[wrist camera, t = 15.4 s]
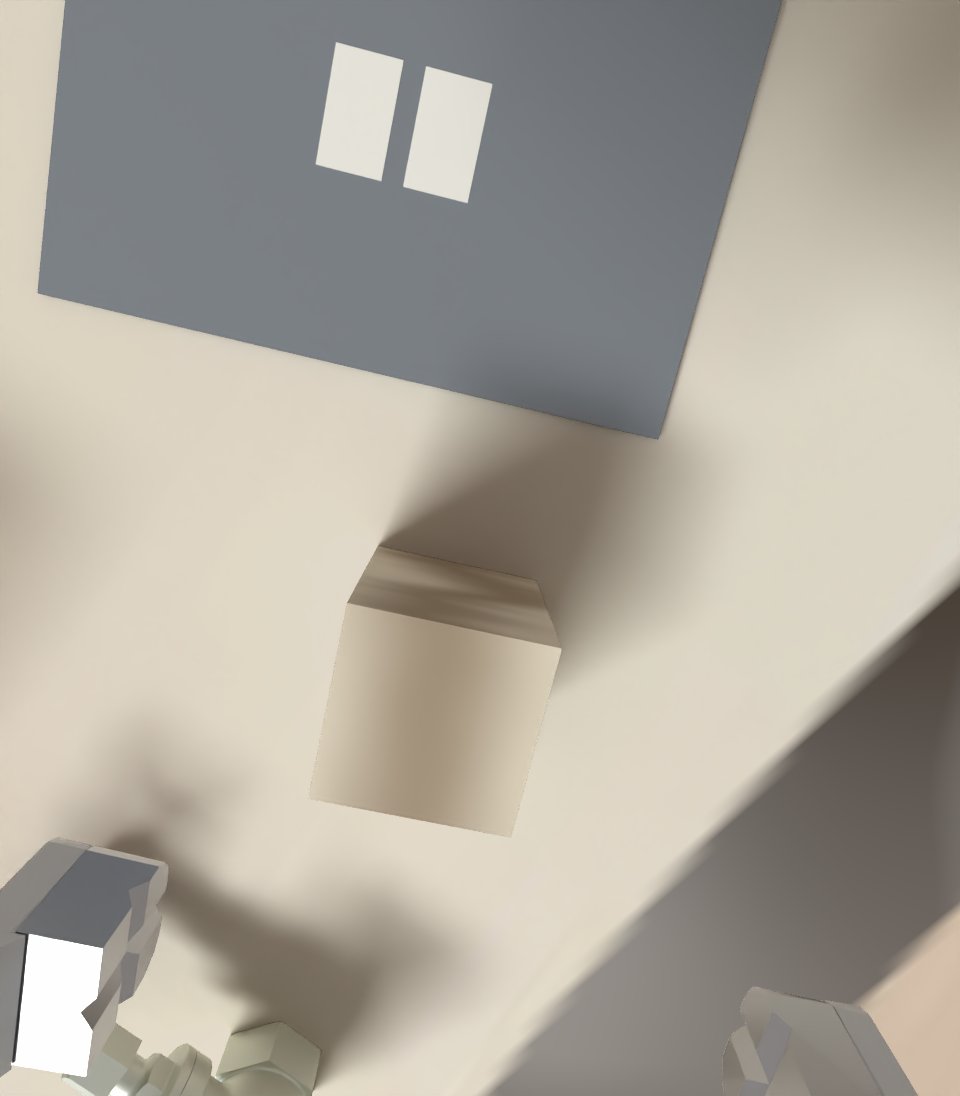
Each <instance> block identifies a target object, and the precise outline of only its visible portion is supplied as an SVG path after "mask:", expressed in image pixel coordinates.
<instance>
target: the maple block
mask: <svg viewBox="0 0 960 1096" xmlns="http://www.w3.org/2000/svg"><path fill="white" fill-rule="evenodd" d="M561 651H562V647H561V644H560V642H559V639H558V636H557V634H556V631H555V629H554V626H553V623H552V621H551V618H550V615H549V613H548V610H547V607H546V605H545V602H544V599H543V597H542V594H541V591H540V589H539V586H538V583H537V581H536V580H532V579H527V578H523V577H518V576H514V575H509V574H504V573H500V572H495V571H491V570H486V569H482V568H477V567H472V566H468V565H463V564H459V563H454V562H450V561H445V560H440V559H436V558H431V557H427V556H422V555H418V554H413V553H408V552H404V551H399V550H395V549H390V548H386V547H381V546H378V547H377V549H376V550H375V552H374V554H373V556H372V558H371V560H370V562H369V563H368V565H367V567H366V569H365V571H364V573H363V574H362V576H361V578H360V580H359V582H358V584H357V586H356V587H355V589H354V591H353V593H352V595H351V597H350V598H349V600H348V602H347V606H346V611H345V616H344V621H343V626H342V631H341V636H340V641H339V646H338V651H337V656H336V661H335V666H334V671H333V676H332V681H331V686H330V691H329V696H328V701H327V706H326V711H325V716H324V721H323V726H322V731H321V736H320V741H319V746H318V751H317V756H316V761H315V766H314V771H313V776H312V781H311V786H310V792H309V797H308V799H312V800H318V801H323V802H328V803H333V804H338V805H344V806H349V807H354V808H359V809H364V810H370V811H375V812H380V813H385V814H390V815H396V816H401V817H406V818H411V819H416V820H422V821H427V822H432V823H437V824H442V825H448V826H453V827H458V828H463V829H468V830H474V831H479V832H484V833H489V834H495V835H500V836H505V837H510V838H511V836H512V832H513V829H514V825H515V821H516V818H517V814H518V810H519V807H520V803H521V799H522V795H523V792H524V788H525V784H526V781H527V777H528V773H529V769H530V766H531V762H532V758H533V755H534V751H535V747H536V743H537V740H538V736H539V732H540V729H541V725H542V721H543V718H544V714H545V710H546V706H547V703H548V699H549V695H550V692H551V688H552V684H553V680H554V677H555V673H556V669H557V666H558V662H559V658H560V654H561Z"/></svg>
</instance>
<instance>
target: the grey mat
mask: <svg viewBox="0 0 960 1096" xmlns="http://www.w3.org/2000/svg"><path fill="white" fill-rule="evenodd" d="M781 1H782V0H65V9H64V19H63V30H62V40H61V51H60V61H59V72H58V82H57V93H56V103H55V114H54V125H53V135H52V146H51V156H50V167H49V177H48V188H47V198H46V209H45V219H44V230H43V241H42V251H41V262H40V272H39V283H38V293H39V294H43V295H47V296H51V297H56V298H60V299H64V300H68V301H72V302H77V303H81V304H85V305H89V306H94V307H98V308H102V309H106V310H111V311H115V312H119V313H123V314H128V315H132V316H136V317H140V318H145V319H149V320H153V321H157V322H162V323H166V324H170V325H174V326H178V327H183V328H187V329H191V330H195V331H200V332H204V333H208V334H212V335H217V336H221V337H225V338H229V339H234V340H238V341H242V342H246V343H251V344H255V345H259V346H263V347H268V348H272V349H276V350H280V351H284V352H289V353H293V354H297V355H301V356H306V357H310V358H314V359H318V360H323V361H327V362H331V363H335V364H340V365H344V366H348V367H352V368H357V369H361V370H365V371H369V372H373V373H378V374H382V375H386V376H390V377H395V378H399V379H403V380H407V381H412V382H416V383H420V384H424V385H429V386H433V387H437V388H441V389H446V390H450V391H454V392H458V393H463V394H467V395H471V396H475V397H479V398H484V399H488V400H492V401H496V402H501V403H505V404H509V405H513V406H518V407H522V408H526V409H530V410H535V411H539V412H543V413H547V414H552V415H556V416H560V417H564V418H569V419H573V420H577V421H581V422H585V423H590V424H594V425H598V426H602V427H607V428H611V429H615V430H619V431H624V432H628V433H632V434H636V435H641V436H645V437H649V438H653V439H659V435H660V431H661V428H662V424H663V421H664V417H665V414H666V410H667V407H668V403H669V399H670V396H671V392H672V389H673V385H674V382H675V378H676V375H677V371H678V367H679V364H680V360H681V357H682V353H683V350H684V346H685V343H686V339H687V335H688V332H689V328H690V325H691V321H692V318H693V314H694V311H695V307H696V303H697V300H698V296H699V293H700V289H701V286H702V282H703V279H704V275H705V271H706V268H707V264H708V261H709V257H710V254H711V250H712V247H713V243H714V239H715V236H716V232H717V229H718V225H719V222H720V218H721V215H722V211H723V207H724V204H725V200H726V197H727V193H728V190H729V186H730V183H731V179H732V175H733V172H734V168H735V165H736V161H737V158H738V154H739V151H740V147H741V143H742V140H743V136H744V133H745V129H746V126H747V122H748V119H749V115H750V111H751V108H752V104H753V101H754V97H755V94H756V90H757V87H758V83H759V79H760V76H761V72H762V69H763V65H764V62H765V58H766V55H767V51H768V47H769V44H770V40H771V37H772V33H773V30H774V26H775V23H776V19H777V15H778V12H779V8H780V5H781Z"/></svg>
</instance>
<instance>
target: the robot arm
mask: <svg viewBox="0 0 960 1096" xmlns="http://www.w3.org/2000/svg"><path fill="white" fill-rule="evenodd" d="M168 872H169V867H168V865H167V863H166V862H162V861H158V860H154V859H149V858H145V857H141V856H137V855H133V854H128V853H124V852H120V851H116V850H111V849H107V848H103V847H99V846H91V845H87V844H83V843H79V842H75V841H70V840H66V839H62V838H56V839H53V840H51V841H49V842H47V843H46V844H45V845H44V846H43V847H42V848H41V849H40V850H39V851H38V852H37V853H36V854H35V855H34V856H33V857H32V858H31V859H30V860H29V861H28V862H27V863H26V864H25V865H24V866H23V867H22V868H21V869H20V870H19V871H18V872H17V873H16V874H15V875H14V877H13V878H12V879H11V880H10V881H9V882H8V883H7V884H6V885H5V886H4V887H3V888H2V889H1V890H0V1077H1V1076H2V1075H4V1074H5V1073H7V1072H8V1071H9V1070H11V1067H12V1064H13V1065H19V1066H25V1067H31V1068H37V1069H43V1070H49V1071H55V1072H61V1073H67V1074H74V1075H80V1076H86V1075H87V1073H88V1071H89V1070H90V1068H91V1066H92V1064H93V1063H94V1061H95V1059H96V1058H97V1056H98V1054H99V1053H100V1051H101V1049H102V1048H103V1046H104V1044H105V1043H106V1041H107V1039H108V1037H109V1036H110V1034H111V1032H112V1031H113V1029H114V1027H115V1023H116V1016H117V1010H118V1004H120V1003H122V1002H123V1001H125V1000H127V999H128V998H130V997H132V996H133V995H134V993H135V991H136V989H137V988H138V986H139V984H140V982H141V981H142V979H143V977H144V975H145V973H146V970H147V968H148V965H149V963H150V961H151V958H152V956H153V953H154V951H155V947H156V943H157V940H158V936H159V932H160V926H161V920H162V916H161V914H160V913H159V911H158V909H157V907H156V905H157V903H158V901H159V900H160V898H161V897H162V895H163V893H164V892H165V890H166V888H167V880H168ZM740 1010H741V1013H742V1016H743V1018H744V1021H745V1023H746V1024H745V1025H744V1026H743V1027H741V1028H740V1029H738V1030H737V1031H735V1032H734V1033H733V1034H731V1035H730V1037H729V1040H728V1043H727V1046H726V1049H725V1052H724V1055H723V1069H722V1082H723V1088H724V1096H918V1095H917V1093H916V1091H915V1090H914V1088H913V1086H912V1085H911V1083H910V1081H909V1080H908V1078H907V1076H906V1075H905V1073H904V1072H903V1070H902V1068H901V1067H900V1065H899V1063H898V1062H897V1060H896V1058H895V1057H894V1055H893V1053H892V1052H891V1050H890V1048H889V1047H888V1045H887V1043H886V1042H885V1040H884V1038H883V1037H882V1035H881V1033H880V1032H879V1030H878V1029H877V1027H876V1025H875V1024H874V1022H873V1020H872V1019H871V1017H870V1016H869V1014H868V1013H866V1012H865V1011H864V1010H863V1009H862V1008H861V1007H859V1006H853V1005H848V1004H843V1003H837V1002H832V1001H826V1000H823V1001H820V1000H817V999H812V998H807V997H802V996H797V995H792V994H787V993H782V992H778V991H773V990H768V989H763V988H758V987H753V988H752V989H751V990H750V991H749V992H748V993H747V994H746V995H745V998H744V1000H743V1003H742V1005H741V1008H740Z"/></svg>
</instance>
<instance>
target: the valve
mask: <svg viewBox="0 0 960 1096" xmlns="http://www.w3.org/2000/svg"><path fill="white" fill-rule="evenodd" d="M141 1042H142V1040H140V1039H139V1038H137V1037H136V1036H134V1035H133V1034H131V1033H130V1032H128V1031H127V1030H126V1029H124V1028H123V1027H121V1026H120V1025H118V1024H117V1023H115V1027H114V1029H113V1031H112V1032H111V1034H110V1036H109V1037H108V1039H107V1041H106V1043H105V1044H104V1046H103V1048H102V1049H101V1051H100V1053H99V1054H98V1056H97V1058H96V1059H95V1061H94V1063H93V1064H92V1066H91V1068H90V1070H89V1071H88V1073H87V1075H86V1076H80V1075H74V1074H67V1073H63V1074H62V1078H61V1081H63V1082H64V1083H66V1084H67V1085H69V1086H70V1087H72V1088H74V1089H75V1090H77V1091H78V1092H80V1093H81V1094H83V1095H84V1096H108V1095H110V1096H312V1092H313V1087H314V1083H315V1078H316V1073H317V1069H318V1064H319V1059H320V1055H321V1050H320V1049H319V1048H318V1047H317V1046H315V1045H314V1044H312V1043H311V1042H310V1041H308V1040H307V1039H305V1038H304V1037H303V1036H301V1035H300V1034H298V1033H297V1032H296V1031H294V1030H293V1029H291V1028H290V1027H289V1026H287V1025H286V1024H284V1023H282V1022H274V1023H271V1024H267V1025H263V1026H260V1027H256V1028H253V1029H249V1030H245V1031H242V1032H238V1033H235V1034H233V1035H231V1036H230V1037H229V1040H228V1042H227V1045H226V1048H225V1051H224V1054H223V1056H222V1059H221V1062H220V1065H219V1067H218V1070H217V1073H216V1076H215V1078H214V1077H213V1076H211V1071H212V1061H211V1060H210V1059H209V1058H208V1057H206V1056H205V1055H203V1054H202V1053H201V1052H199V1051H198V1050H196V1049H195V1048H194V1047H192V1046H191V1045H189V1044H183V1045H181V1046H179V1047H178V1048H177V1049H175V1050H174V1051H173V1052H172V1053H171V1054H170V1055H169V1056H168V1057H165V1056H164V1055H162V1054H159V1053H155V1054H152V1055H151V1056H150V1057H149V1058H148V1059H144V1058H143V1057H141V1056H140V1055H138V1054H137V1053H136V1052H137V1050H138V1048H139V1046H140V1044H141Z"/></svg>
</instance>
